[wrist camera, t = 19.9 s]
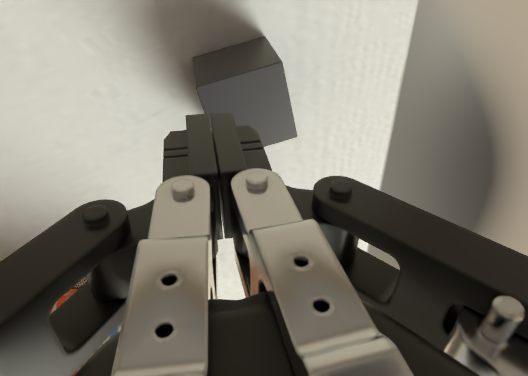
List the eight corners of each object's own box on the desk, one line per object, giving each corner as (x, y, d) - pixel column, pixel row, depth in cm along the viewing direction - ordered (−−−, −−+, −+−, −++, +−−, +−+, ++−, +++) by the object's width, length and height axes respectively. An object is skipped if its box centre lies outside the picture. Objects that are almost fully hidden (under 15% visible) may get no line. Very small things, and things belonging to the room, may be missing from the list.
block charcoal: (191, 57, 23) (195, 87, 20) (265, 36, 23) (282, 61, 20) (214, 123, 26) (221, 159, 22) (280, 103, 26) (297, 136, 22)
